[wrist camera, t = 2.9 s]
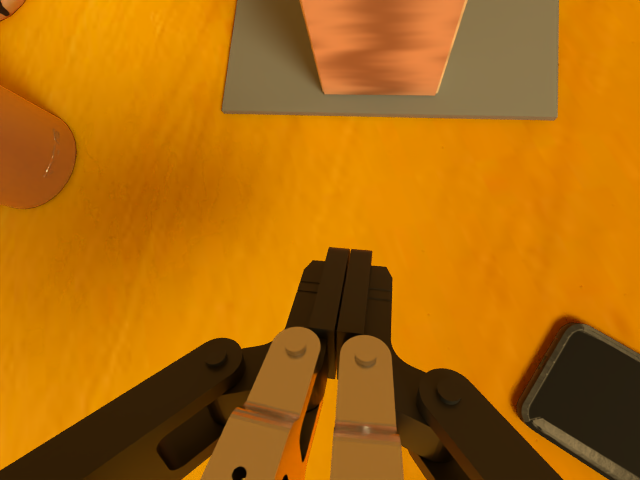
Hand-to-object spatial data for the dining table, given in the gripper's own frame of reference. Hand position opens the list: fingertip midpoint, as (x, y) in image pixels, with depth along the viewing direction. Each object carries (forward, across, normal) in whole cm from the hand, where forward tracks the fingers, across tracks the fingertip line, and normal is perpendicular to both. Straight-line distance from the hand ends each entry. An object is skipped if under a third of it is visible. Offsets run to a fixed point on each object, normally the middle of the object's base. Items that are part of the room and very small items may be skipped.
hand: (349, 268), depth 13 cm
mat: (+25, 0, -5) cm, 26 cm away
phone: (+5, -19, +16) cm, 25 cm away
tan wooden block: (+21, 0, -2) cm, 21 cm away
